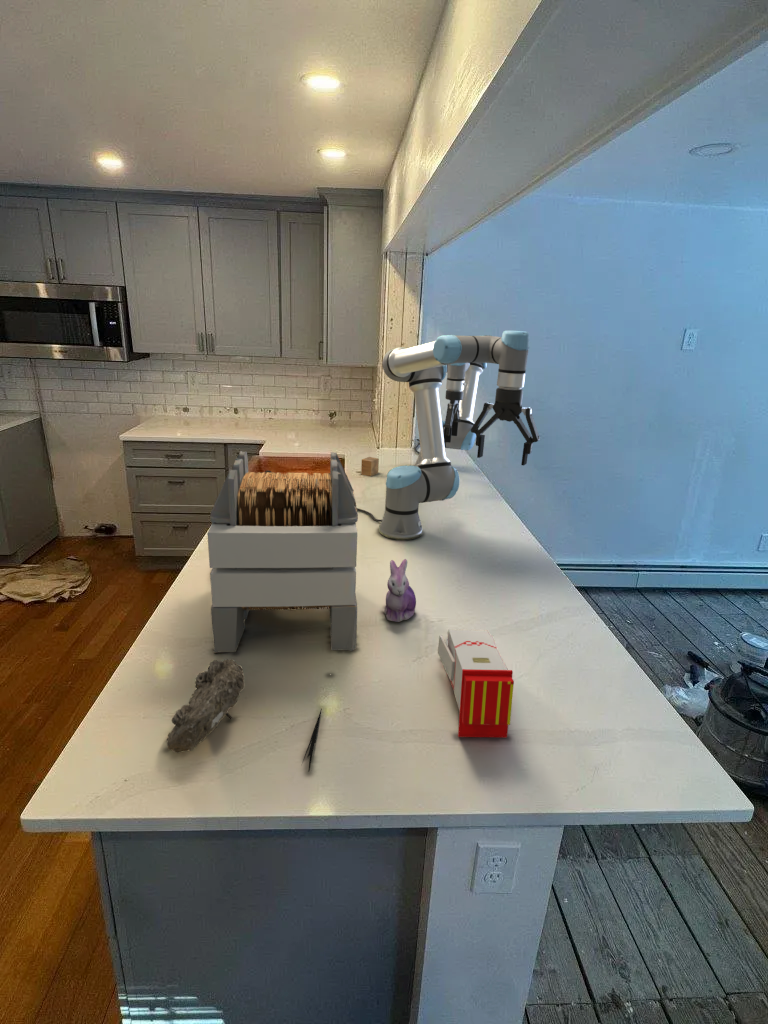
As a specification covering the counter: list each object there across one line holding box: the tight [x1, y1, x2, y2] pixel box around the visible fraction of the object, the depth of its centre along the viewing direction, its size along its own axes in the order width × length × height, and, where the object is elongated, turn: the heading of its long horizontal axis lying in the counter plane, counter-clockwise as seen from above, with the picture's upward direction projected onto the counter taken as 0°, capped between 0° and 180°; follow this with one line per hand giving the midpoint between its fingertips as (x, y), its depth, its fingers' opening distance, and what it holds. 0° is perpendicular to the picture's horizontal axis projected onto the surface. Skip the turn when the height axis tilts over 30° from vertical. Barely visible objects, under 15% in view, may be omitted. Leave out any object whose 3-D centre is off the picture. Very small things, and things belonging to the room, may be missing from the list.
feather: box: [301, 673, 332, 771], centre depth 108 cm, size 2×28×2 cm
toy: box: [437, 628, 515, 738], centre depth 117 cm, size 12×13×30 cm
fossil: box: [166, 658, 245, 754], centre depth 106 cm, size 22×10×15 cm
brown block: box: [360, 456, 380, 477], centre depth 269 cm, size 7×5×7 cm
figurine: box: [384, 558, 417, 623], centre depth 145 cm, size 9×10×15 cm
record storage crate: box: [206, 450, 359, 654], centre depth 137 cm, size 34×33×41 cm
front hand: (501, 460), depth 168 cm, fingers open, 13 cm apart
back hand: (450, 438), depth 250 cm, fingers open, 13 cm apart
